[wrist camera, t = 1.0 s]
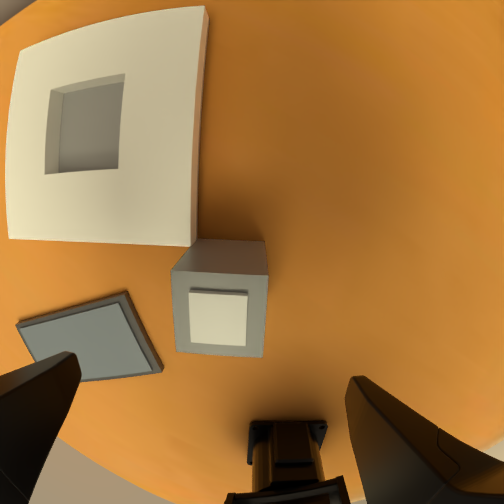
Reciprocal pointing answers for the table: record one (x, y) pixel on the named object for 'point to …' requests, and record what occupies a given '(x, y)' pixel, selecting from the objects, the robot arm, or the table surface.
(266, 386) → the table surface
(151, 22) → the outlet plate
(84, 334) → the phone
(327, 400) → the table surface
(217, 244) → the block
